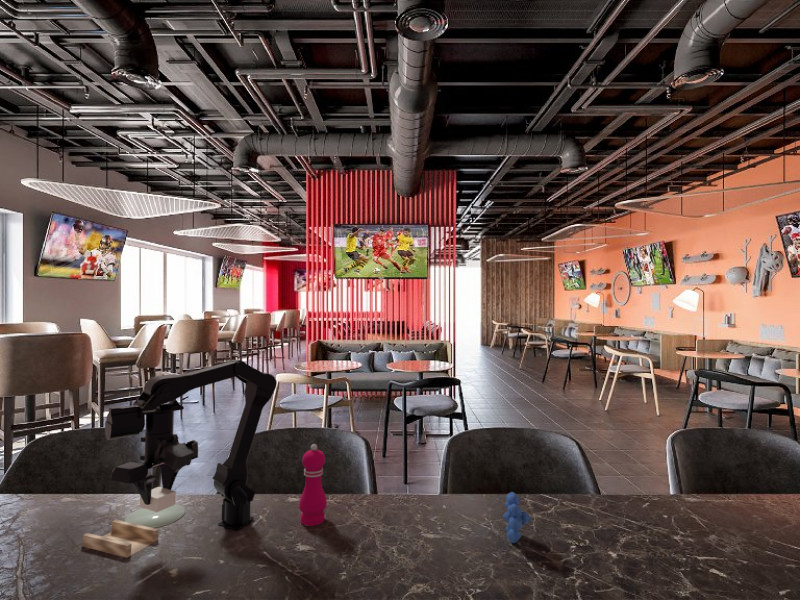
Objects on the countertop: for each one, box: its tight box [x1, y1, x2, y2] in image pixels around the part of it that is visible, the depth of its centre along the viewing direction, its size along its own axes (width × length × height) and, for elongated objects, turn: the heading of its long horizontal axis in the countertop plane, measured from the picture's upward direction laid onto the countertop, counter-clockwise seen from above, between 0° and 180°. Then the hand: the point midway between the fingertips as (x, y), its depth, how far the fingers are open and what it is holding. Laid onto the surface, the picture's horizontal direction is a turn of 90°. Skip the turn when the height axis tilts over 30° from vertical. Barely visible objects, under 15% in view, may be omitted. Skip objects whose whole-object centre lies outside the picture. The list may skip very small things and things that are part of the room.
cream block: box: [139, 486, 177, 512], centre depth 98 cm, size 6×4×3 cm
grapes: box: [502, 491, 532, 544], centre depth 103 cm, size 12×7×12 cm, turn 171°
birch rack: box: [81, 519, 159, 558], centre depth 100 cm, size 14×8×3 cm, turn 71°
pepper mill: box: [298, 443, 328, 527], centre depth 113 cm, size 7×7×20 cm
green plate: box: [124, 503, 186, 529], centre depth 114 cm, size 14×14×1 cm
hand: (157, 499), depth 98 cm, fingers closed on cream block, 5 cm apart
